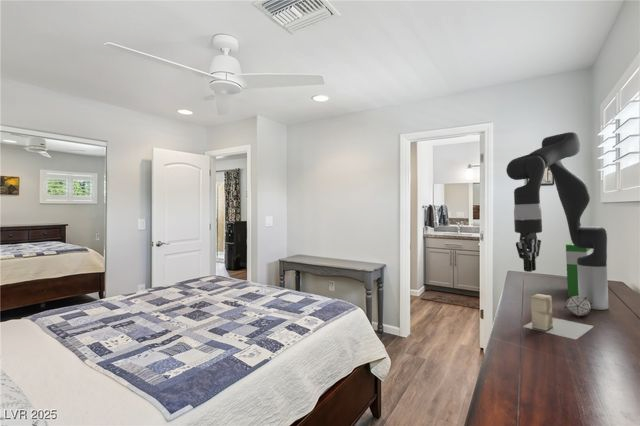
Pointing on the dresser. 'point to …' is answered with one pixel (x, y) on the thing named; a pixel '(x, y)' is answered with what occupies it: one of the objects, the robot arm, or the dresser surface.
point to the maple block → (541, 312)
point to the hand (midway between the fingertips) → (529, 270)
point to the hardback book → (574, 266)
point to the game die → (578, 305)
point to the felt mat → (566, 328)
